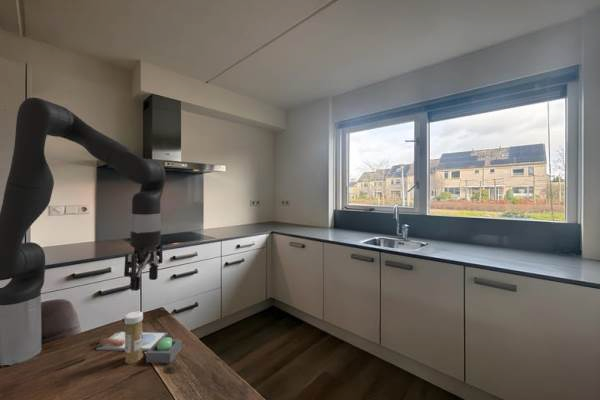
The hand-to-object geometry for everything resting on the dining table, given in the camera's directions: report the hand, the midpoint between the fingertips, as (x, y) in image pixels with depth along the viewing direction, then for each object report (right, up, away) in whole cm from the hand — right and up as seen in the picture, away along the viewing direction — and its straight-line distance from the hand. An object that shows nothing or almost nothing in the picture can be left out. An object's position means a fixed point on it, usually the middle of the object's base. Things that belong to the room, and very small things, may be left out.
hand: (144, 284), depth 75 cm
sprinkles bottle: (-4, -22, +1) cm, 23 cm away
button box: (+4, -22, +3) cm, 23 cm away
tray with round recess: (-9, -22, +9) cm, 25 cm away
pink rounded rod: (-14, -22, +6) cm, 27 cm away
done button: (+4, -21, +3) cm, 21 cm away
